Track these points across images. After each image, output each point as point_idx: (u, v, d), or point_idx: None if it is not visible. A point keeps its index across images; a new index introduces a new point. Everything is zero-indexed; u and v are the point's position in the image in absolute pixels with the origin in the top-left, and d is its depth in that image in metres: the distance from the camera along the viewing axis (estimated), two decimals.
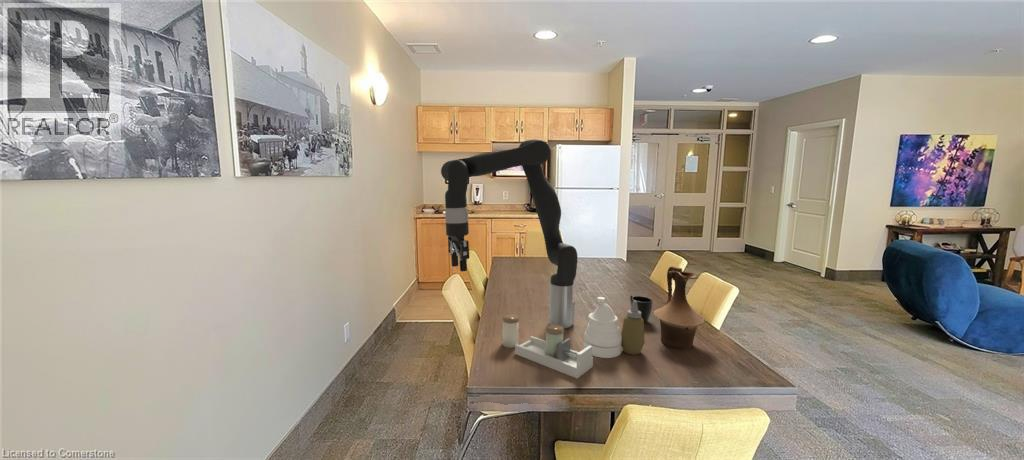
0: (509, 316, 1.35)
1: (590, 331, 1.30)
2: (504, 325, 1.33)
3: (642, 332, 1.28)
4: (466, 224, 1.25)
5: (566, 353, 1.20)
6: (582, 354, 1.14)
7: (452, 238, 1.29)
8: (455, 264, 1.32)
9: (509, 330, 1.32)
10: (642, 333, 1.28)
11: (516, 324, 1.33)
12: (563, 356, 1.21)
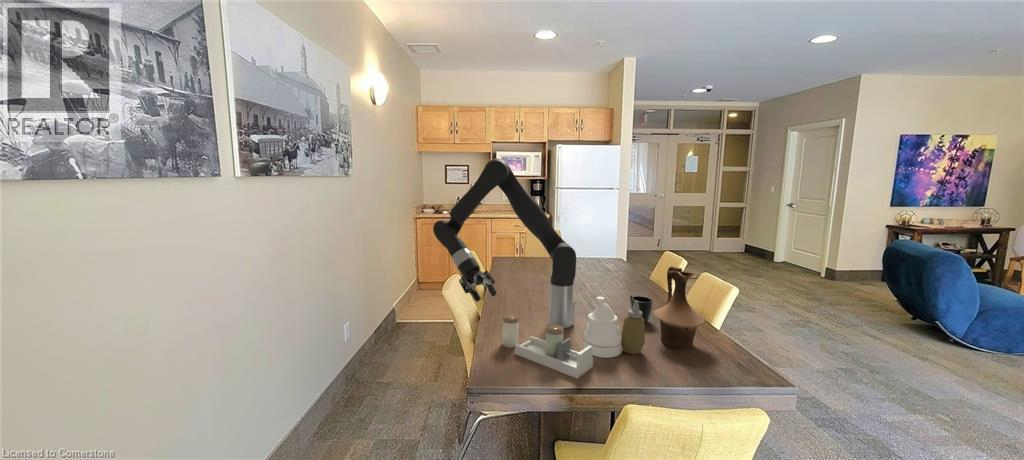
0: (509, 316, 1.35)
1: (590, 331, 1.30)
2: (504, 325, 1.33)
3: (642, 332, 1.28)
4: (463, 263, 1.43)
5: (566, 353, 1.20)
6: (582, 354, 1.14)
7: None
8: (493, 293, 1.44)
9: (509, 330, 1.32)
10: (642, 333, 1.28)
11: (516, 324, 1.33)
12: (563, 356, 1.21)
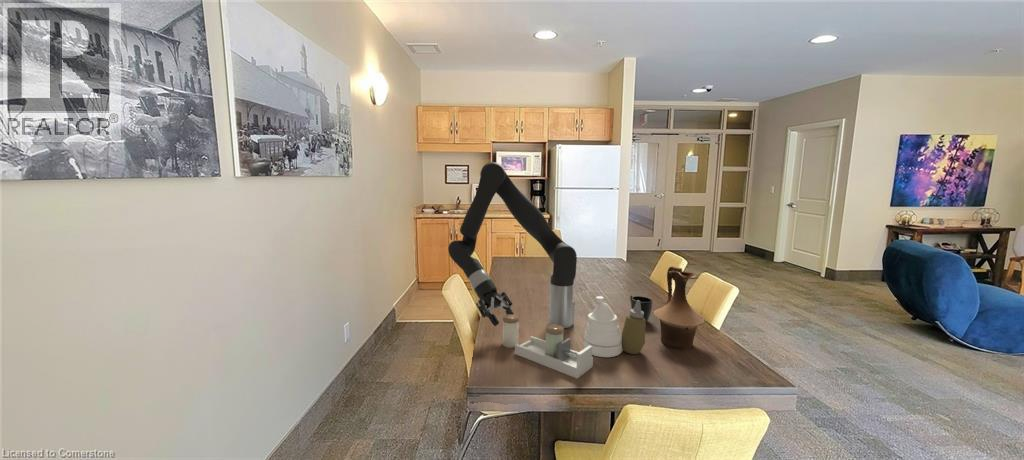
0: (509, 316, 1.35)
1: (590, 331, 1.30)
2: (504, 325, 1.33)
3: (643, 332, 1.28)
4: (480, 285, 1.38)
5: (566, 353, 1.20)
6: (582, 354, 1.14)
7: None
8: None
9: (509, 330, 1.32)
10: (643, 333, 1.28)
11: (516, 324, 1.33)
12: (563, 356, 1.21)
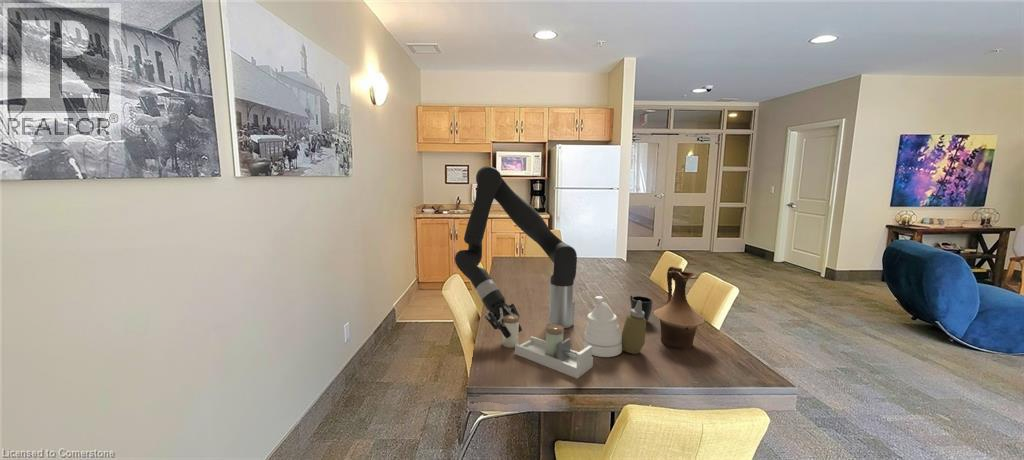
0: (509, 316, 1.35)
1: (590, 331, 1.29)
2: None
3: (643, 332, 1.28)
4: (488, 295, 1.36)
5: (566, 353, 1.20)
6: (582, 354, 1.14)
7: None
8: None
9: (508, 330, 1.32)
10: (643, 333, 1.28)
11: (516, 324, 1.33)
12: (563, 356, 1.21)
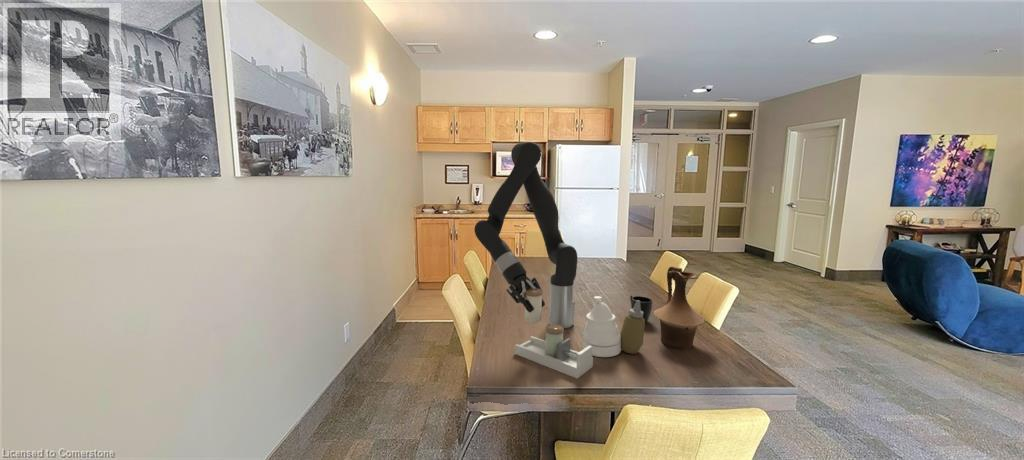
0: (531, 290, 1.28)
1: (589, 331, 1.29)
2: None
3: (642, 332, 1.28)
4: (509, 268, 1.29)
5: (566, 353, 1.20)
6: (582, 354, 1.14)
7: None
8: None
9: (531, 304, 1.25)
10: (642, 333, 1.28)
11: (539, 298, 1.25)
12: (563, 356, 1.21)
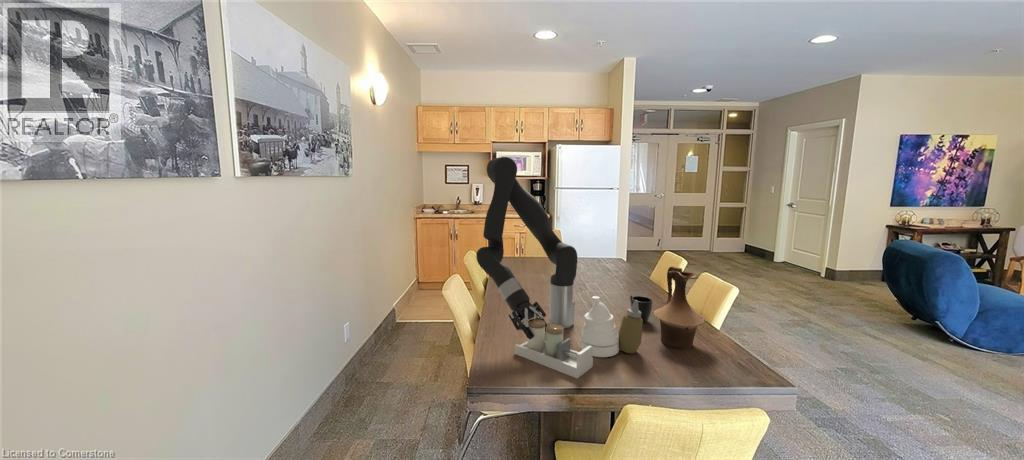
0: (535, 321, 1.28)
1: (587, 331, 1.29)
2: None
3: (640, 332, 1.29)
4: (513, 295, 1.29)
5: (566, 353, 1.20)
6: (582, 354, 1.14)
7: None
8: (545, 328, 1.30)
9: (535, 335, 1.25)
10: (640, 333, 1.29)
11: (542, 329, 1.26)
12: (563, 356, 1.21)
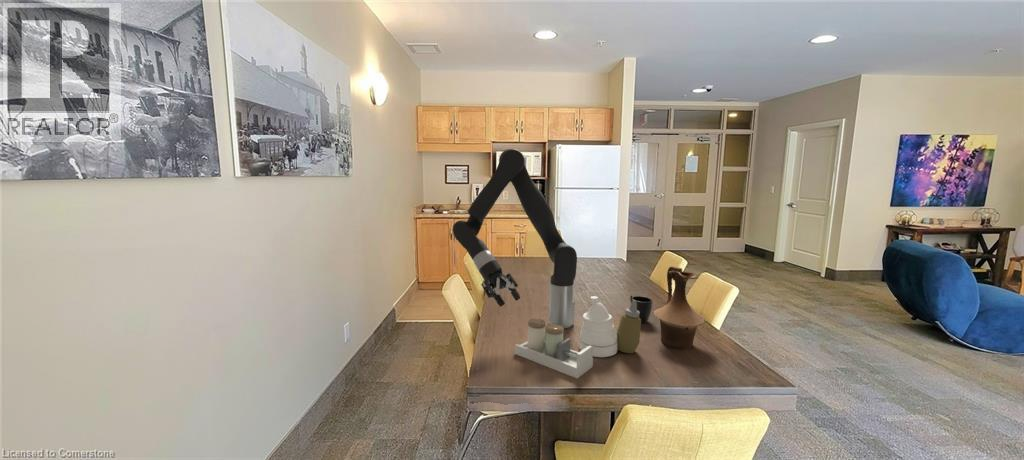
0: (535, 321, 1.28)
1: (586, 331, 1.29)
2: (530, 330, 1.26)
3: (639, 332, 1.29)
4: (485, 265, 1.36)
5: (566, 353, 1.20)
6: (582, 354, 1.14)
7: None
8: (516, 297, 1.37)
9: (535, 335, 1.25)
10: (639, 333, 1.29)
11: (543, 329, 1.26)
12: (563, 356, 1.21)
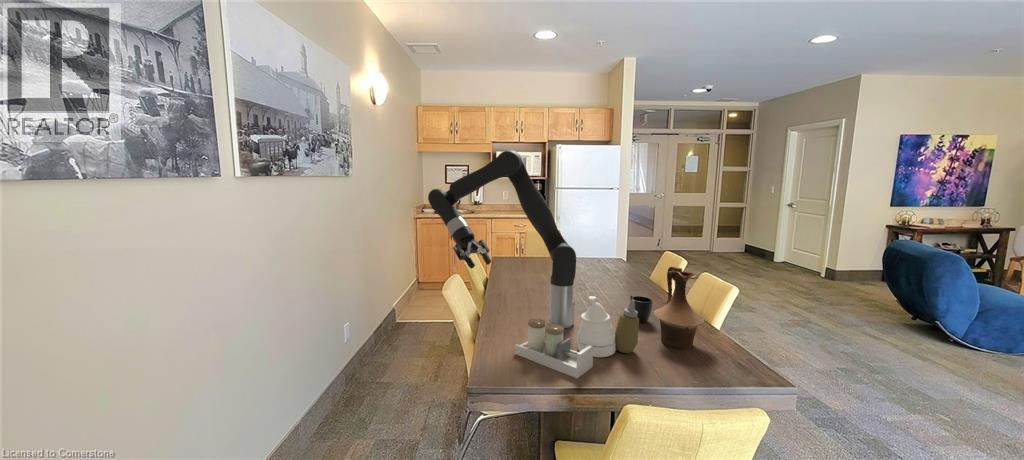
0: (535, 320, 1.28)
1: (584, 331, 1.29)
2: (530, 330, 1.26)
3: (637, 331, 1.29)
4: (458, 230, 1.42)
5: (566, 353, 1.20)
6: (582, 354, 1.14)
7: None
8: (487, 261, 1.44)
9: (535, 335, 1.25)
10: (637, 332, 1.29)
11: (543, 329, 1.26)
12: (563, 356, 1.21)
